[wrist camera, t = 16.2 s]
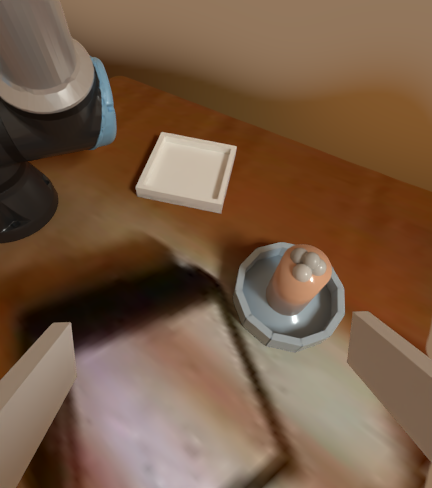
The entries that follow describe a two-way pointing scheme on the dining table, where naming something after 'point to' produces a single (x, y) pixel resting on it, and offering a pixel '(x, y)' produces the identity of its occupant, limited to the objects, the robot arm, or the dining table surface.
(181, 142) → the tray
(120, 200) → the dining table surface
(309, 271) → the pebble cup
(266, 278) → the bowl
